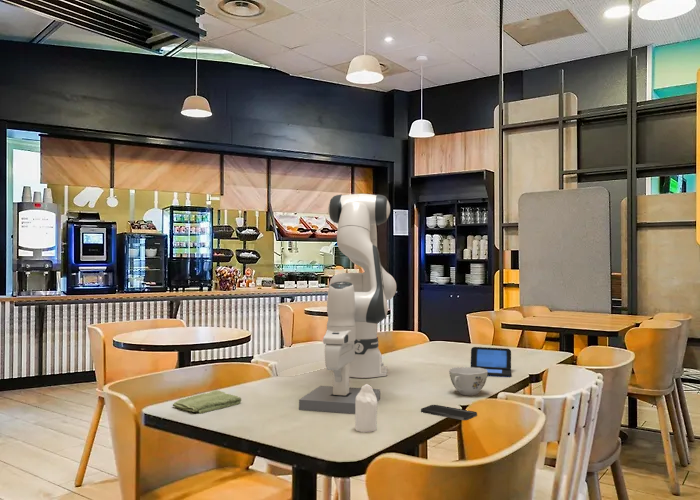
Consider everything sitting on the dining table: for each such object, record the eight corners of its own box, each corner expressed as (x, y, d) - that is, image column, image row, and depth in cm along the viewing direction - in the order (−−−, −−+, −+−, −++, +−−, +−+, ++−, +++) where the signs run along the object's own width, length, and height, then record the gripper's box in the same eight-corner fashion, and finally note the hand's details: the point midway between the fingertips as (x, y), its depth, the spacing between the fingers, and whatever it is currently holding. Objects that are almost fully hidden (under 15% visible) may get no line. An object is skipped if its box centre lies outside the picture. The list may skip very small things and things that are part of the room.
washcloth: (170, 409, 181) (170, 398, 181) (218, 398, 194) (218, 388, 194) (195, 417, 172) (195, 405, 172) (244, 405, 186) (244, 394, 186)
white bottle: (368, 380, 163) (382, 384, 158) (368, 425, 163) (381, 429, 158) (350, 383, 159) (363, 386, 155) (350, 428, 159) (363, 433, 154)
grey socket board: (320, 394, 198) (320, 385, 198) (380, 398, 192) (380, 389, 192) (299, 409, 178) (299, 399, 178) (364, 414, 173) (364, 404, 173)
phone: (433, 404, 182) (478, 412, 173) (433, 408, 182) (478, 416, 173) (419, 409, 176) (465, 417, 167) (419, 413, 176) (465, 422, 167)
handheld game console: (469, 376, 230) (469, 351, 230) (470, 369, 243) (470, 346, 243) (511, 378, 226) (511, 353, 227) (511, 371, 239) (511, 348, 239)
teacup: (462, 387, 209) (462, 364, 209) (494, 393, 200) (494, 369, 200) (437, 395, 197) (437, 370, 197) (471, 401, 189) (471, 375, 189)
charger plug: (336, 391, 188) (336, 360, 188) (349, 392, 187) (349, 361, 187) (332, 394, 184) (333, 363, 184) (345, 395, 183) (345, 363, 183)
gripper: (340, 330, 196) (340, 373, 196) (321, 338, 177) (321, 386, 176) (359, 331, 195) (359, 374, 194) (341, 339, 175) (341, 387, 175)
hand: (341, 380), depth 185 cm, fingers closed on charger plug, 4 cm apart
